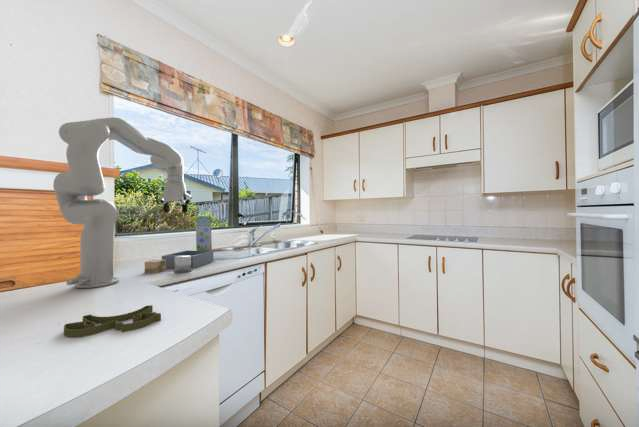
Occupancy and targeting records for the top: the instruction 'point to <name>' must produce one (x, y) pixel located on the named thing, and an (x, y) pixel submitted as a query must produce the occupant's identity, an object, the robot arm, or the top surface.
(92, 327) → the cookie cutter
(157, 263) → the kraft carton
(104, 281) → the robot arm
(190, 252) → the tote
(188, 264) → the steel tin
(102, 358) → the top surface
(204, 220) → the snack box
